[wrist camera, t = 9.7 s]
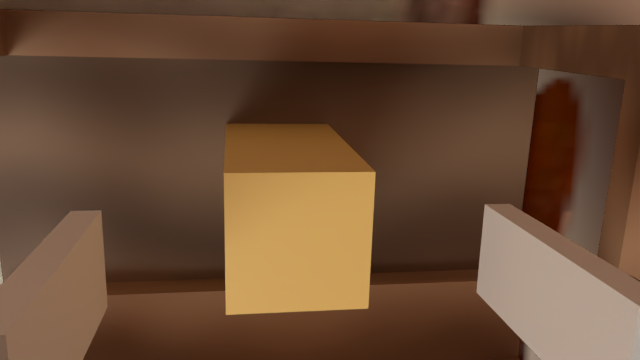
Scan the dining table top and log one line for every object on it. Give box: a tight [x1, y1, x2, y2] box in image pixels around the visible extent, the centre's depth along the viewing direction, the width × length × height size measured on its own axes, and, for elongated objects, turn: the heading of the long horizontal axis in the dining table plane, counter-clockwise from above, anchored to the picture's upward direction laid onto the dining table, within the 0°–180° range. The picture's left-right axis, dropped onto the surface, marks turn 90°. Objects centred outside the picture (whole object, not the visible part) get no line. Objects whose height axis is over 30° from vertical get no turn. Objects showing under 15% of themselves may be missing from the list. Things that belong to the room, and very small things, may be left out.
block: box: [224, 124, 376, 315], centre depth 19 cm, size 4×4×8 cm
